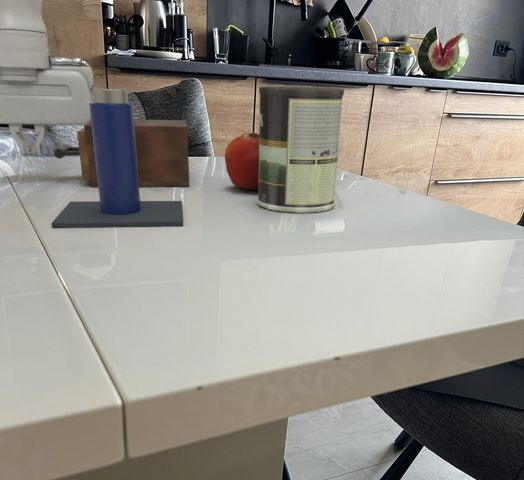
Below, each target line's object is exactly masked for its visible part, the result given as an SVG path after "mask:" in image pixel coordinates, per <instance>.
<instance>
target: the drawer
mask: <svg viewBox="0 0 524 480" xmlns="http://www.w3.org/2000/svg"><path fill="white" fill-rule="evenodd" d="M76 136H77V143H78V144H77V145H78V146H71V145H70V144H67V143H65V144H63V145H61V146H60V147H58V148H56V149H55V150H54V151H53V152H54V157H55V158H56V159H58V160H59V159H60V160H61V159H63V158H65V157H66V156H67V157H68V156H69V157H73V156H74V157H75V156H76V157H78V156H79V160H80V161H79V162H80V169H81V179H82V181H90V173H89V164H88V155H87V146H86V137H85V129H84V127H83V128H81V129H79V130H78V131H76Z"/></svg>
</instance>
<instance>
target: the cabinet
mask: <svg viewBox="0 0 524 480" xmlns="http://www.w3.org/2000/svg"><path fill="white" fill-rule="evenodd" d="M83 128H84V129H85V137H86V146H87V155H88V164H89V173H90V180H89V182H90V187H91V188H98V180H97V170H96V161H95V152H94V143H93V133H92V124H91V123H88V124H86V125H83ZM134 128H135V141H136V154H137V167H138V180H139V188H189V187H190V166H189V165H190V164H189V137H188V136H189V135H188V124H187V121H186V120H185V119H180V120H179V119H134Z"/></svg>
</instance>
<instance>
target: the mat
mask: <svg viewBox="0 0 524 480" xmlns="http://www.w3.org/2000/svg"><path fill="white" fill-rule="evenodd" d="M140 206H141V211H139V212H137V213H133V214H125V215H112V214H105V213H102V212H101V207H100V200H98V201H97V200H96V201H94V200H91V201H89V200H88V201H87V200H85V201H81V200H80V201H79V200H78V201H69V202H68V203H67V205H66V206H65V207H64V208H63V209H62V210H61V211H60V213H59V214H58V215H57V216H56V217H55V219H54V220H53V221H52V222H51V223H50V224H51V228H52V229H53V228H54V229H55V228H56V229H57V228H58V229H59V228H121V227H122V228H123V227H128V228H129V227H131V228H132V227H134V228H135V227H184V214H183V201H182V200H140Z"/></svg>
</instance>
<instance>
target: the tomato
mask: <svg viewBox="0 0 524 480" xmlns="http://www.w3.org/2000/svg"><path fill="white" fill-rule="evenodd" d="M224 161H225V167H226V172H227V175H228V177H229V179H230V181H231V183H232V184H233V185H234V186H235V187H238V188H241V189H245V190H252V191H256V190H257V191H258V190H259V133H256V132H243V133H242V134H241V135H240V136H237V137H235V138H234V139H232V140H231V141H230V142H229V143H228V144H227V146H226V147H225V152H224Z"/></svg>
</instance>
